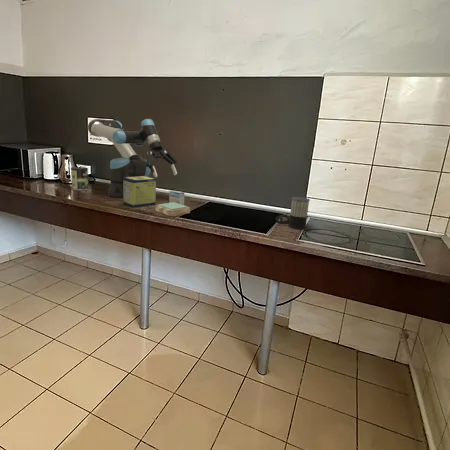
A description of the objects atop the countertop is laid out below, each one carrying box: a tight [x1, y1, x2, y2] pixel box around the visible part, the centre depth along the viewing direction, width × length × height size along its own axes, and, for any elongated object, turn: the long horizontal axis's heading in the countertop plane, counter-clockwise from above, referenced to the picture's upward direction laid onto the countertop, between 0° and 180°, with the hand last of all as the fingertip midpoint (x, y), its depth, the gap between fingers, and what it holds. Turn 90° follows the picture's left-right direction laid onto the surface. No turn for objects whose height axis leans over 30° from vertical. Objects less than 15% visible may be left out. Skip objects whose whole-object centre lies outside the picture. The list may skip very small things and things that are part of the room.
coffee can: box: [70, 166, 90, 191], centre depth 220 cm, size 10×10×14 cm
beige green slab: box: [154, 204, 191, 217], centre depth 181 cm, size 14×13×3 cm
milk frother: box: [275, 196, 310, 230], centre depth 172 cm, size 14×16×15 cm
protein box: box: [123, 176, 157, 208], centre depth 191 cm, size 10×16×16 cm
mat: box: [157, 202, 189, 210], centre depth 181 cm, size 12×11×1 cm
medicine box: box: [168, 190, 185, 206], centre depth 195 cm, size 8×4×9 cm, turn 62°
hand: (166, 175), depth 198 cm, fingers open, 13 cm apart
